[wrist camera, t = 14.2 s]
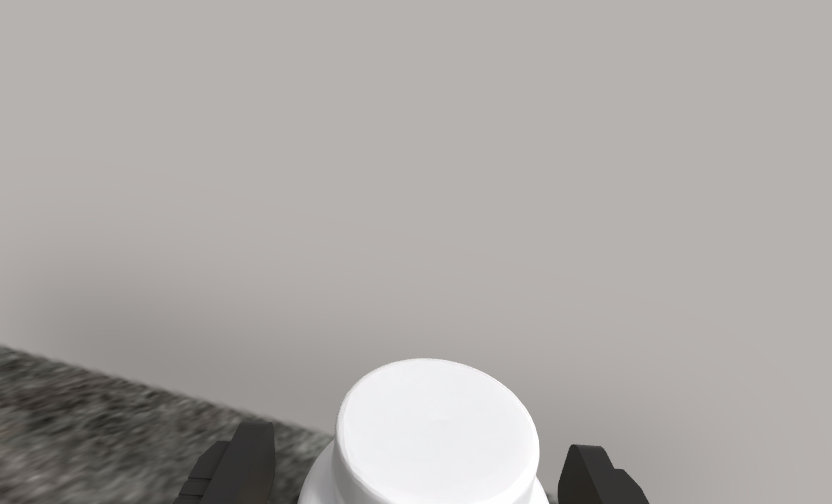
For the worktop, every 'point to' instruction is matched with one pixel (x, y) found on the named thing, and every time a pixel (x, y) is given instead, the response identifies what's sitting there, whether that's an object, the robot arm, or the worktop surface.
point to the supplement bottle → (428, 441)
